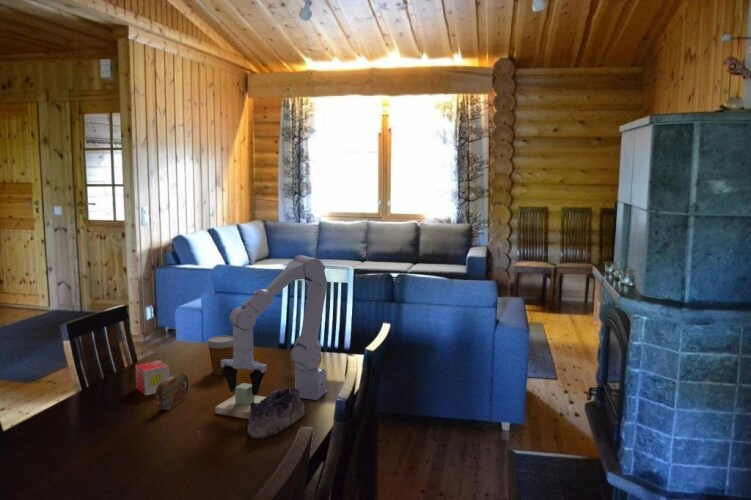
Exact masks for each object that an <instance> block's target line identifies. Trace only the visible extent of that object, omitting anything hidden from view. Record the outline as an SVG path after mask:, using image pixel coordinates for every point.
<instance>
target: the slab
mask: <svg viewBox="0 0 751 500" xmlns="http://www.w3.org/2000/svg"><path fill="white" fill-rule="evenodd" d="M267 397H268V396H262V395H261V396H260V395H257V394H256V395H255V396H254V401H253V402H254V403H260V402H261V400H263V399H265V398H267ZM250 405H251V403H250V404H249V405H241V404H235V394H234V395H233V396H231V397H229V398H228V399H226V400H223V402H221V403H219V404H218V405H216V406H215V407H214V408H215V409H214V410H215V411H214V412H215V414H219V415H225V416H229V417H230V416H231V417H235V418H241V419H248V420H249V416H250V415H251V407H250Z"/></svg>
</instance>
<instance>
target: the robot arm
mask: <svg viewBox="0 0 751 500" xmlns="http://www.w3.org/2000/svg"><path fill="white" fill-rule="evenodd" d="M325 271H326V266H325V264H324V263H323V262H322V261H321V260H320V259H319V258H316V257H310V256H306V255H304V254H297V255H296V256H295V257H294V258H293V259H292V260H290V261H289V262H288V263H287V265H286V266H285V267H284V269H283V270H281V272H280V273H278V275H277V276H276V277H275V279H273V280H272V281H271V282H270V284H269V285H267V287H266V288H259V289H258V290H256V289H255V290H254V291H253V292H252V296H250V297H249V298H248V299H247V300H246V301H245V302H242V303H241V304H240V305H241V306H238V307H235V308H234V309H232V311H231V313H230V316H229V317H228V319H229V321H230V323H231V324H232V337H233V359H223V360H221V367H224V369H223V370H222V373H223V375H222V376H224V378H225V380H226V382H227V384H228V388H229V391H230V393H233V392H235V387H237V377H238V370H246V371H247V370H249V371H252V372H250V373H249V378H250V383H251V384H252V394H253V395H254V396H255V395H256V396H257V395H258V394H259V392H260V391H259V390H260V386H261V383H262V380H263V378H264V376H265V374H266V373H267V371H268V367H267V366H268V364H267V363H261V362H259V361H257V360H256V361H255V360H254V327H255V325H256V323H257V320H258V319H257V318H259V317H260V315H262V314H263V313H264V312H265V311H266V310H267V309H268V308H269V307H270V306H271V305H272V304H273V303H274V297H275V296H277V295H278V294H279V293H280V292H281V291H282V290H283V289H285V288H286V287H287V286H288V285H289V284H291V283H292V282H293V281H298V280H299V281H300V280H304V281H305V283H306V284H307V285H308V294H307V298H306V304H305V310H304V315H303V321H302V324H301V325H302V326H301V333H300V335H299V336H298V337H297V338H296V339H295V343H294V346H293V347H292V348H291V352H290V357H291V360H292V361H294V389H298V390H299V391H300V396H299V398H300V399H307V400H313V401H318V400H319V399H320V398H321V397H322V396H324V395H325V394H326V393H327V392H328V390H327V373H326V372H327V371H326V370H325V369H324V368H320V367H319V366H320V365H321V363H322V359H323V357H322V352H321V351H322V345H321V342H320V340H319V334H320V333H319V332H320V328H321V321H322V318H323V317H322V316H323V311H324V305H325V299H326V296H327V295H326V294H327V288H328V280H327V276H326V272H325Z"/></svg>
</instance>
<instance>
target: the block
mask: <svg viewBox="0 0 751 500" xmlns="http://www.w3.org/2000/svg"><path fill="white" fill-rule="evenodd" d="M234 393H235V394H234V395H235V404H241V405H249V404H250V403H252V402H253V401H254V395H253V394H252V383H245V382H241V383H240V384H239V385H236V387H235V391H234Z"/></svg>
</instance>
